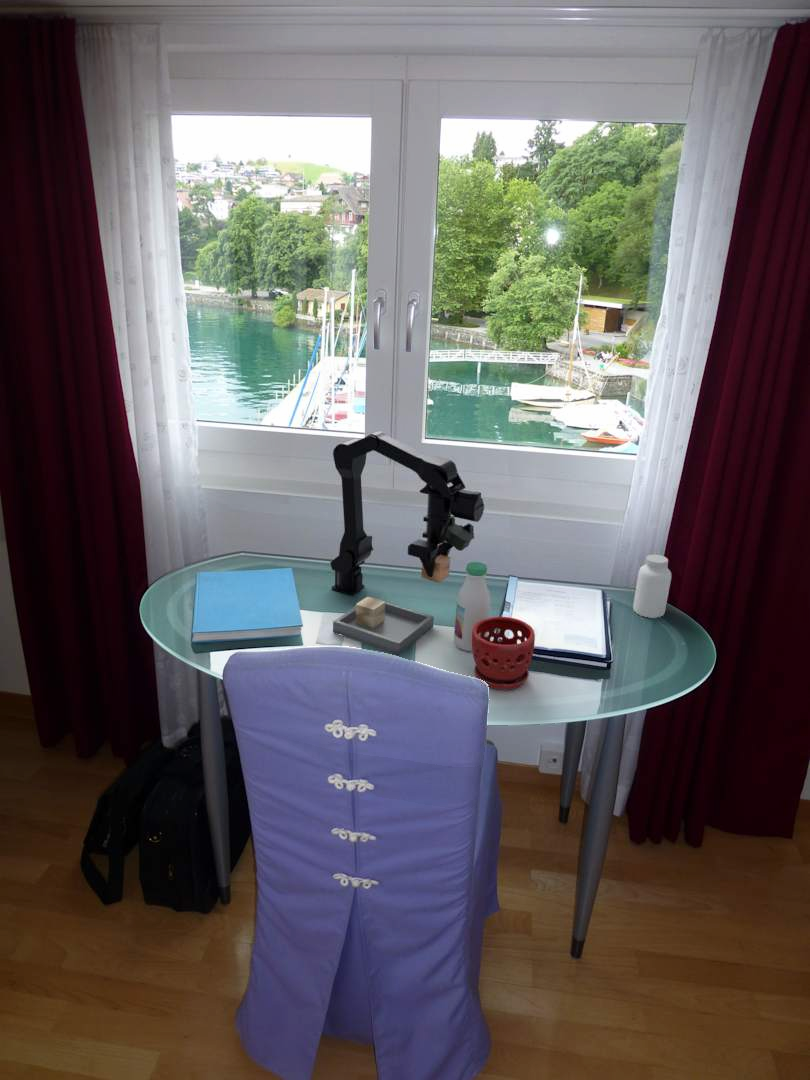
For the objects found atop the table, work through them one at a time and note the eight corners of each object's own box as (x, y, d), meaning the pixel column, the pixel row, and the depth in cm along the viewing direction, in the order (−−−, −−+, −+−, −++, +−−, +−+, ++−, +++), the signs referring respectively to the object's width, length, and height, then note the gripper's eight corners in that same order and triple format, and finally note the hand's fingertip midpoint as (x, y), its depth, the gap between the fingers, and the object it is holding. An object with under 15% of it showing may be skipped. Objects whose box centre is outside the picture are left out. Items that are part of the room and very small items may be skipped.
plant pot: (490, 656, 184) (495, 609, 179) (541, 678, 176) (547, 629, 172) (456, 679, 174) (460, 629, 170) (508, 703, 167) (513, 651, 162)
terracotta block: (421, 577, 199) (422, 558, 197) (431, 570, 203) (432, 552, 201) (439, 582, 196) (440, 563, 194) (449, 575, 200) (450, 557, 198)
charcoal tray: (332, 632, 191) (333, 621, 190) (370, 607, 204) (370, 597, 203) (398, 655, 183) (398, 643, 182) (433, 627, 196) (433, 616, 194)
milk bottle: (490, 640, 191) (497, 562, 184) (482, 655, 184) (489, 574, 177) (458, 633, 193) (464, 556, 186) (449, 648, 187) (455, 568, 179)
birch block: (355, 622, 194) (355, 604, 192) (367, 615, 198) (367, 596, 196) (372, 628, 192) (373, 609, 190) (384, 620, 196) (385, 602, 194)
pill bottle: (630, 615, 207) (639, 560, 201) (634, 602, 214) (643, 549, 208) (662, 621, 204) (672, 567, 198) (666, 608, 211) (675, 555, 205)
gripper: (450, 531, 182) (446, 594, 188) (486, 509, 197) (481, 568, 203) (407, 521, 187) (404, 582, 193) (446, 500, 202) (442, 557, 208)
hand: (435, 572), depth 199 cm, fingers closed on terracotta block, 5 cm apart
